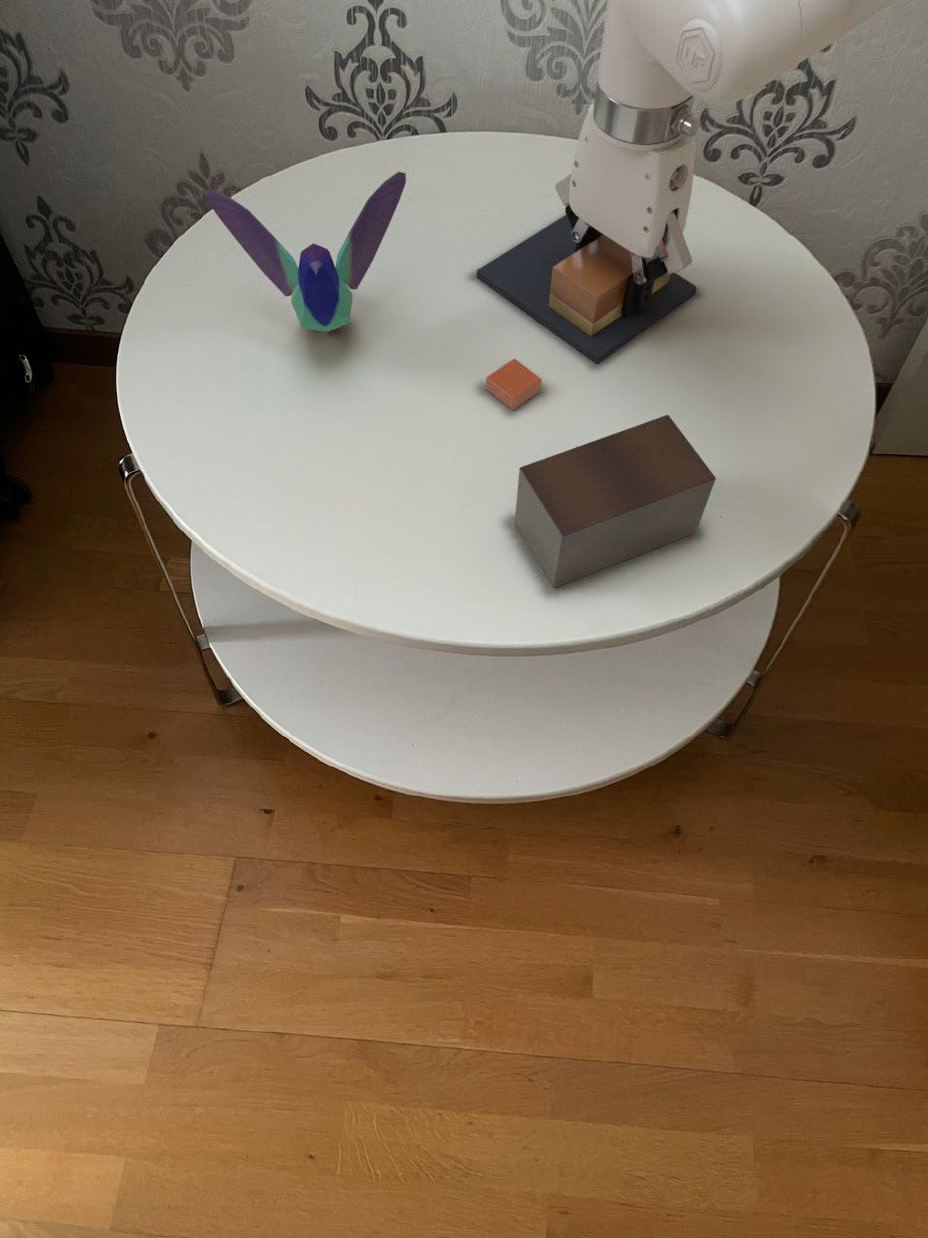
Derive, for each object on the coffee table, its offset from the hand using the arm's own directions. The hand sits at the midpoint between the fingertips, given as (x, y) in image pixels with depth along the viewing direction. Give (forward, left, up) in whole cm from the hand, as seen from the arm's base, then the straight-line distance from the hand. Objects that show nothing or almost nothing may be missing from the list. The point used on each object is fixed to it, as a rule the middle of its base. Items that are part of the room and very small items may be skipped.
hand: (609, 289), depth 90 cm
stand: (-18, +20, -1) cm, 27 cm away
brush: (0, 0, 0) cm, 0 cm away
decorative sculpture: (+14, +23, -1) cm, 27 cm away
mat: (+3, 0, -1) cm, 3 cm away
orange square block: (-2, +15, -1) cm, 15 cm away
